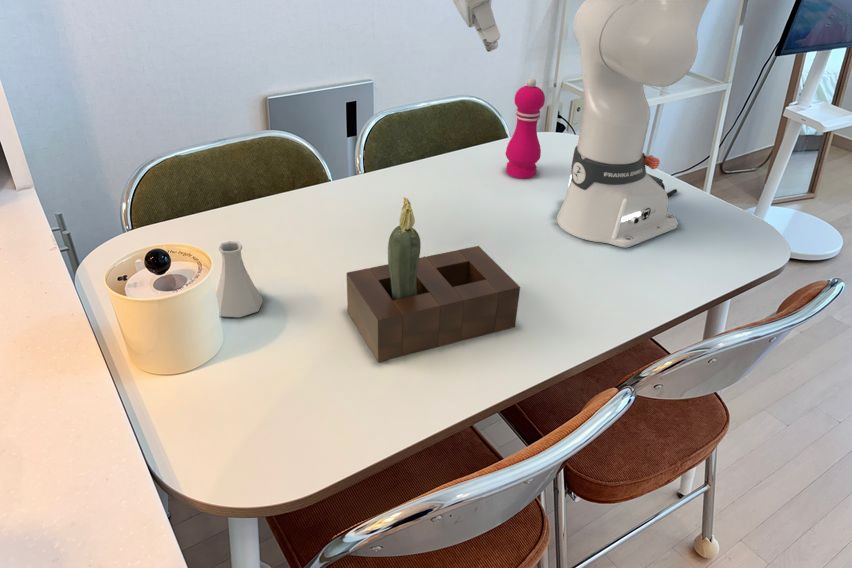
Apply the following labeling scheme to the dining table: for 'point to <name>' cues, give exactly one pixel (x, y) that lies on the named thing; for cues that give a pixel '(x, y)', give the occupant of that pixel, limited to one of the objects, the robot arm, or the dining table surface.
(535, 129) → the pepper mill
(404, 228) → the vegetable
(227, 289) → the flask
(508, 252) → the dining table surface
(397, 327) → the holder
